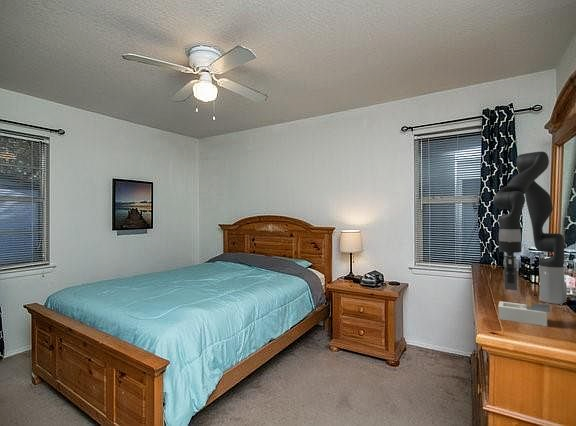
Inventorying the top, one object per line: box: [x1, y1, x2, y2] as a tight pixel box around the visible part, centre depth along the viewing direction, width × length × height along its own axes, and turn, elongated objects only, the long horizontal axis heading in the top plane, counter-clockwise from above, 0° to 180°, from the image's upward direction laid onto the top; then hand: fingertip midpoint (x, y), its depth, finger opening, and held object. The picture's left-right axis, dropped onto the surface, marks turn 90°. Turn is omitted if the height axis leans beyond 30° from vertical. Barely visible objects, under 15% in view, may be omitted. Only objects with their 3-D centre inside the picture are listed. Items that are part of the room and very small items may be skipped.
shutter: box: [525, 294, 551, 313], centre depth 120 cm, size 7×7×4 cm
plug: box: [503, 263, 518, 291], centre depth 126 cm, size 4×4×12 cm
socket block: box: [498, 300, 548, 327], centre depth 123 cm, size 10×15×5 cm, turn 53°
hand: (510, 282), depth 126 cm, fingers closed on plug, 4 cm apart
